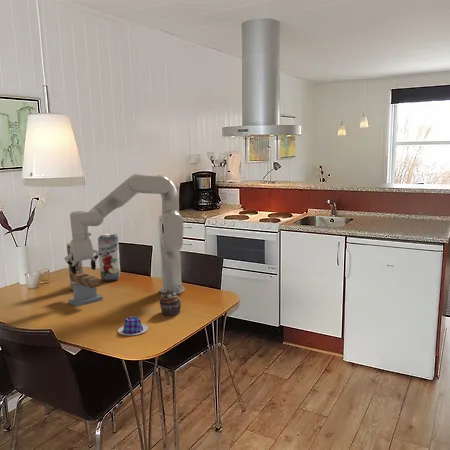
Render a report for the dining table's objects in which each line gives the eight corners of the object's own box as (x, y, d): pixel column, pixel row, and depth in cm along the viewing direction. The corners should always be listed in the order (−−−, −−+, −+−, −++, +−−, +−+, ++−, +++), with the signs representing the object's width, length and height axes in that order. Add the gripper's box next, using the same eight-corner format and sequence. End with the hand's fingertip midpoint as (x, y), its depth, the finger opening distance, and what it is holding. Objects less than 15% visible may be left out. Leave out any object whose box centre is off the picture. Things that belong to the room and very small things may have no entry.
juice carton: (102, 277, 252) (99, 232, 247) (121, 276, 253) (118, 231, 248) (100, 282, 243) (96, 235, 238) (119, 281, 244) (116, 234, 239)
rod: (99, 286, 206) (98, 278, 205) (91, 288, 203) (91, 280, 202) (77, 278, 219) (76, 271, 218) (70, 280, 216) (69, 272, 215)
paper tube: (80, 291, 228) (75, 244, 224) (68, 290, 229) (64, 244, 225) (86, 287, 235) (82, 242, 230) (75, 286, 236) (71, 241, 232)
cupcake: (175, 317, 188) (174, 295, 186) (156, 315, 191) (155, 293, 190) (185, 310, 197) (184, 289, 195) (166, 307, 200) (165, 287, 198)
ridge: (102, 299, 214) (101, 282, 212) (75, 306, 205) (73, 288, 203) (95, 295, 220) (94, 278, 218) (68, 302, 211) (67, 284, 209)
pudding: (151, 325, 181) (150, 313, 180) (143, 337, 170) (142, 324, 169) (123, 324, 183) (122, 313, 182) (113, 336, 171) (112, 324, 170)
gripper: (94, 233, 215) (97, 266, 218) (59, 238, 204) (63, 273, 207) (100, 235, 210) (104, 269, 213) (65, 241, 199) (69, 276, 202)
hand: (84, 271), depth 210 cm, fingers open, 9 cm apart
